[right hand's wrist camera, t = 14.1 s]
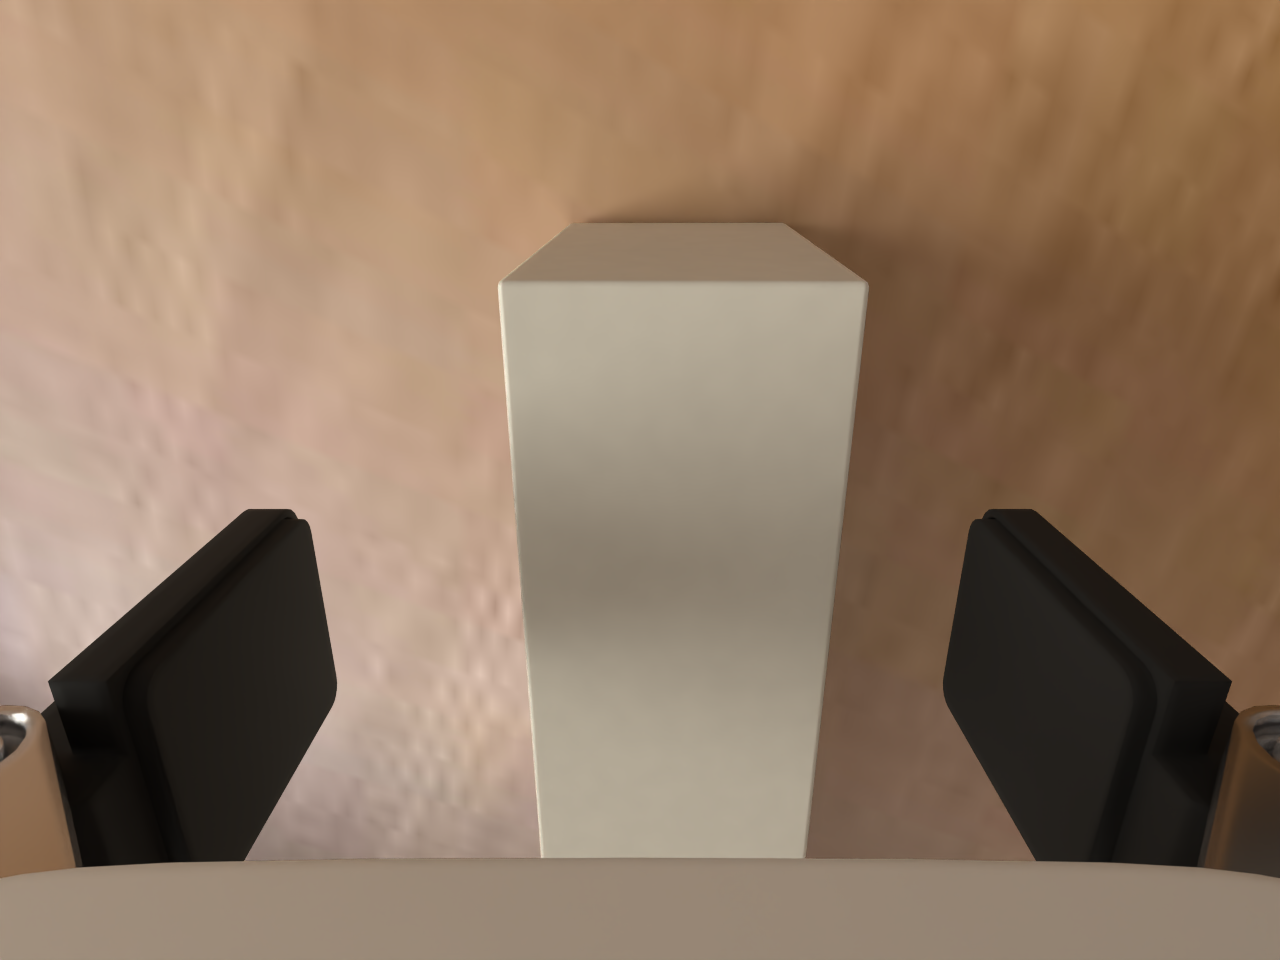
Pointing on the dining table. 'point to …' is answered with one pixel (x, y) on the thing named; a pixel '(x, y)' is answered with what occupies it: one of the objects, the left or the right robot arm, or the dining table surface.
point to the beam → (678, 528)
